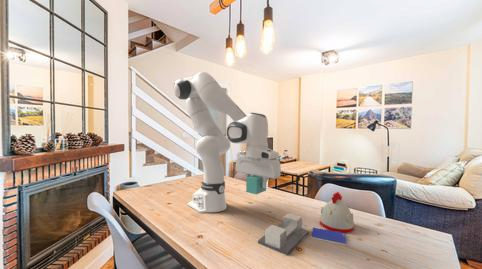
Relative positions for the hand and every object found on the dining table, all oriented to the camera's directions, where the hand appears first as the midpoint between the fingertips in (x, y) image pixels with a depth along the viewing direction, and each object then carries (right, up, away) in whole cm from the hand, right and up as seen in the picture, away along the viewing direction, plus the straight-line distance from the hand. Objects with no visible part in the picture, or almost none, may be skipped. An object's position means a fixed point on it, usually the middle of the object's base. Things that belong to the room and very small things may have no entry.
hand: (256, 186), depth 85 cm
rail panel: (+11, -20, -4) cm, 23 cm away
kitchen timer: (+37, -20, +8) cm, 42 cm away
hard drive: (+29, -21, -2) cm, 35 cm away
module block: (0, -2, 0) cm, 2 cm away
